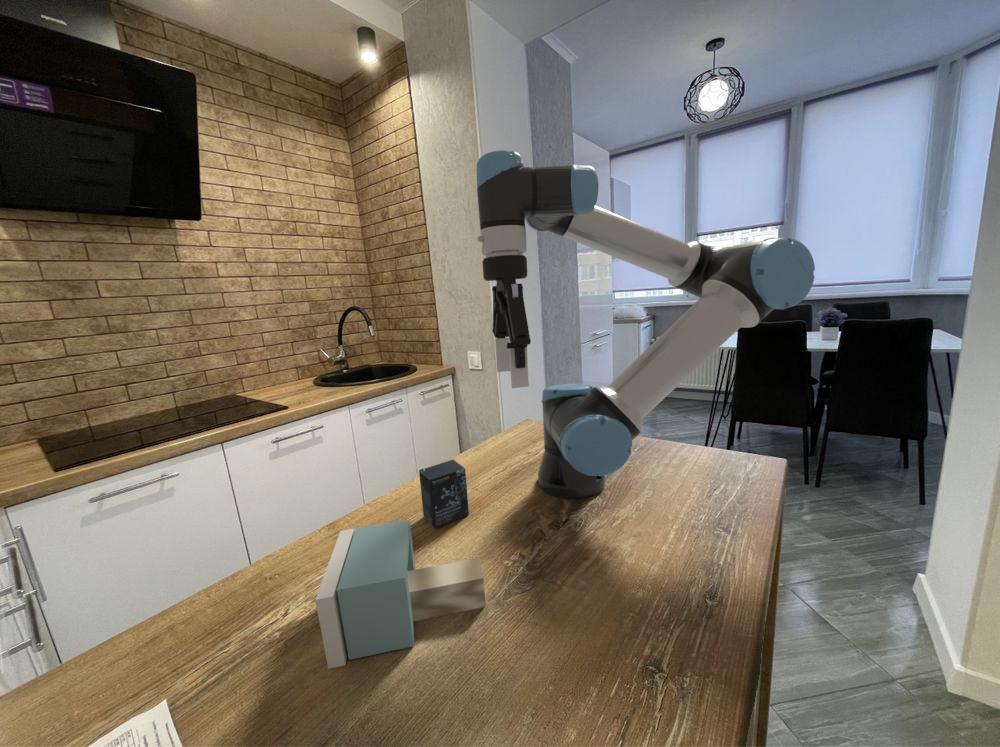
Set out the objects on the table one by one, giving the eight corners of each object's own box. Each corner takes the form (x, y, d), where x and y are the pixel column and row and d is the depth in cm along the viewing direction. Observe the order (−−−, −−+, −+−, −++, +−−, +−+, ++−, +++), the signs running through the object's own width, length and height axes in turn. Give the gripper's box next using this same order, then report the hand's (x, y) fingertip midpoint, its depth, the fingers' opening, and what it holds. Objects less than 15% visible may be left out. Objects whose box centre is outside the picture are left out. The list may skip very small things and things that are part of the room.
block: (416, 576, 63) (409, 519, 61) (413, 646, 50) (404, 577, 48) (364, 585, 62) (355, 527, 60) (349, 659, 49) (336, 590, 47)
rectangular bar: (481, 586, 61) (479, 557, 60) (485, 608, 56) (483, 578, 55) (374, 607, 58) (370, 577, 57) (371, 631, 54) (366, 600, 53)
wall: (362, 584, 62) (354, 528, 60) (345, 665, 49) (333, 596, 47) (349, 587, 62) (340, 530, 60) (328, 669, 48) (315, 599, 46)
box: (434, 530, 75) (429, 479, 73) (423, 517, 80) (417, 469, 78) (470, 515, 80) (465, 467, 77) (457, 503, 84) (453, 458, 82)
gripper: (473, 262, 77) (481, 367, 82) (494, 248, 53) (504, 398, 58) (510, 260, 79) (516, 364, 83) (547, 245, 55) (553, 392, 59)
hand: (511, 378), depth 70 cm, fingers open, 13 cm apart
